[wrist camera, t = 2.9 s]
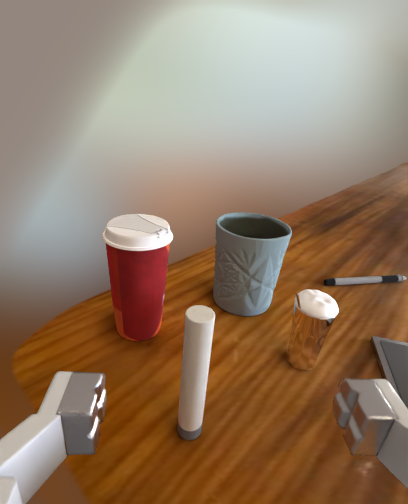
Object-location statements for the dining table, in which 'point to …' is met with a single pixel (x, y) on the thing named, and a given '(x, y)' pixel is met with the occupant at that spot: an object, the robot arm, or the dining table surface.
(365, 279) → the pen
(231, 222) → the grey embossed cup
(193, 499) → the dining table surface
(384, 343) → the tablet
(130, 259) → the paper cup
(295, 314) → the milkshake
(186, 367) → the white cylindrical rod
